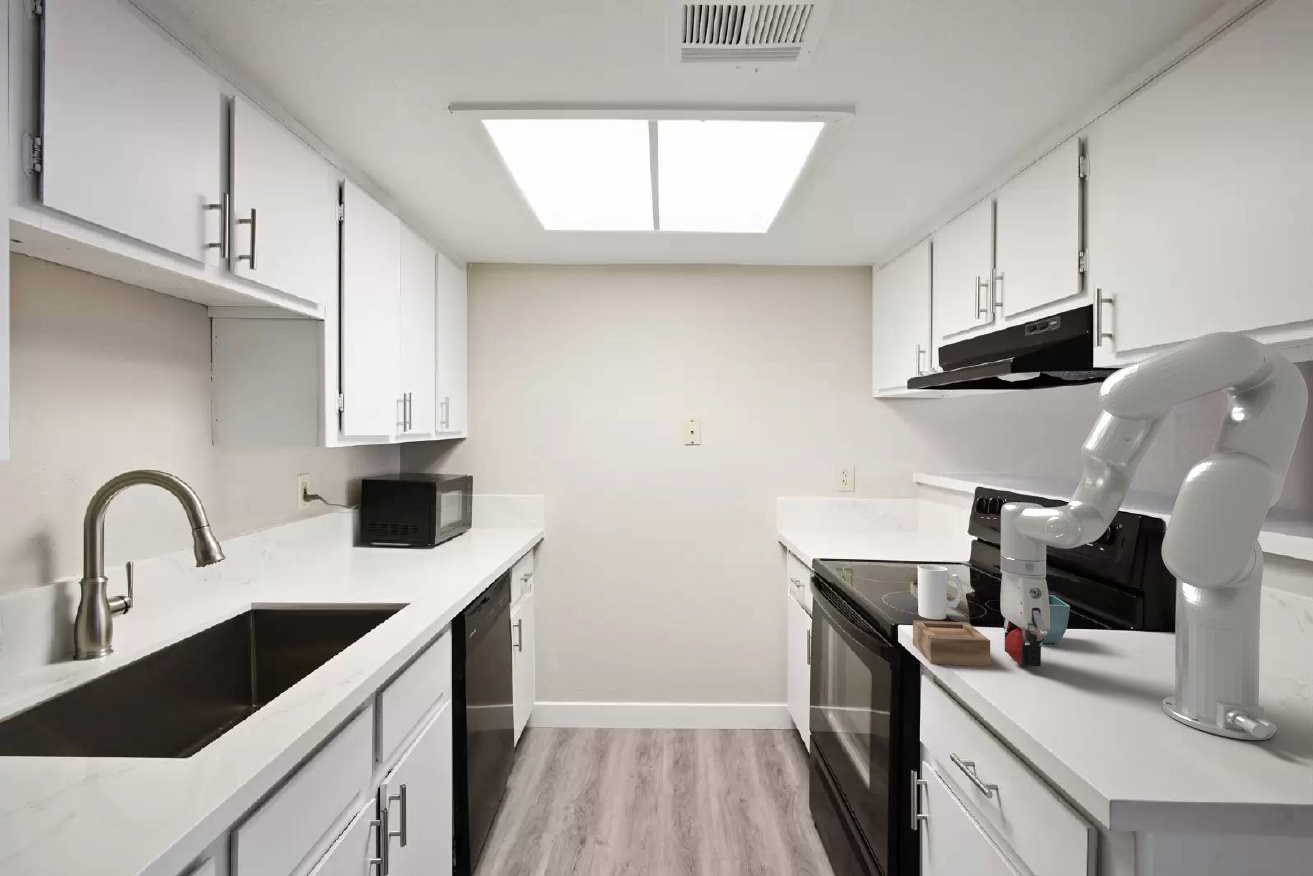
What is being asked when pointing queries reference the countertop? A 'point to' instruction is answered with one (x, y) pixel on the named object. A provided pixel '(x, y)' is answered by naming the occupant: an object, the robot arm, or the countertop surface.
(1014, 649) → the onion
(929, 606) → the mug
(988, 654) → the open walnut box
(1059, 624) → the flower pot
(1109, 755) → the countertop surface
